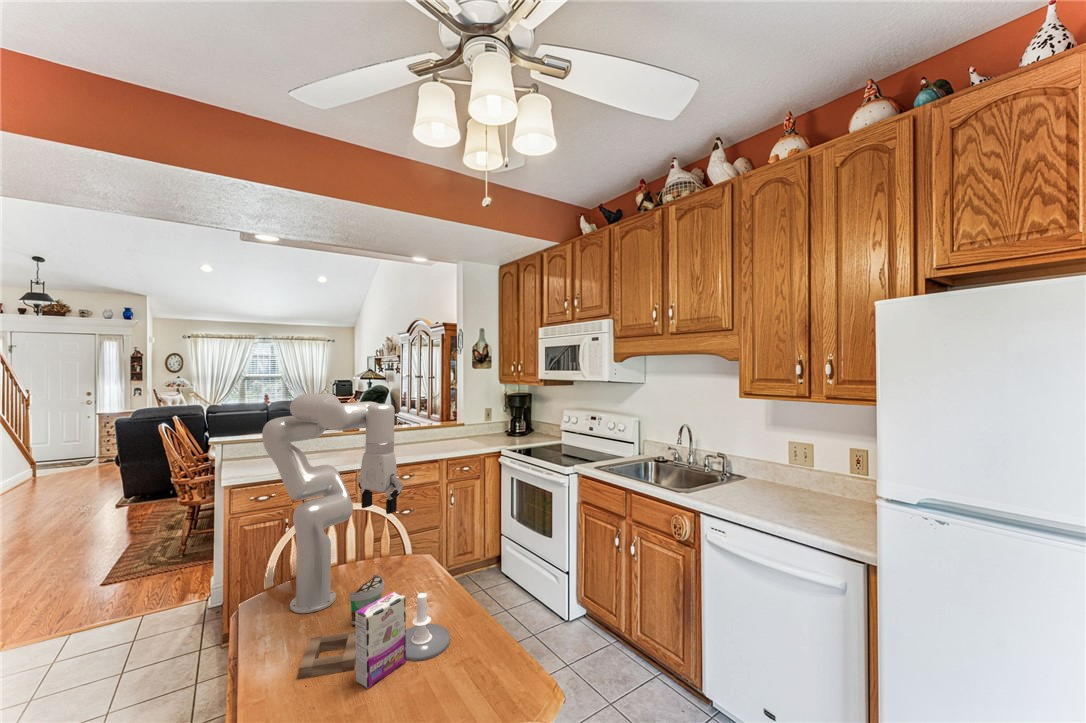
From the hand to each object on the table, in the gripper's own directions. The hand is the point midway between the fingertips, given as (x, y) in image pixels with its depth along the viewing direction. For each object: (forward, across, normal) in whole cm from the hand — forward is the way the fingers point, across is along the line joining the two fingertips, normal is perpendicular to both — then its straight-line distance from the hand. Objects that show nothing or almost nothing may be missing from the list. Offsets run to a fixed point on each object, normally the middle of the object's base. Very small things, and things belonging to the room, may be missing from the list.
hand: (378, 509), depth 124 cm
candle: (+32, +15, +1) cm, 36 cm away
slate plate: (+33, +16, +1) cm, 37 cm away
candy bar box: (+33, +15, -12) cm, 38 cm away
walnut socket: (+33, 0, -14) cm, 36 cm away
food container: (+33, -6, +3) cm, 34 cm away
